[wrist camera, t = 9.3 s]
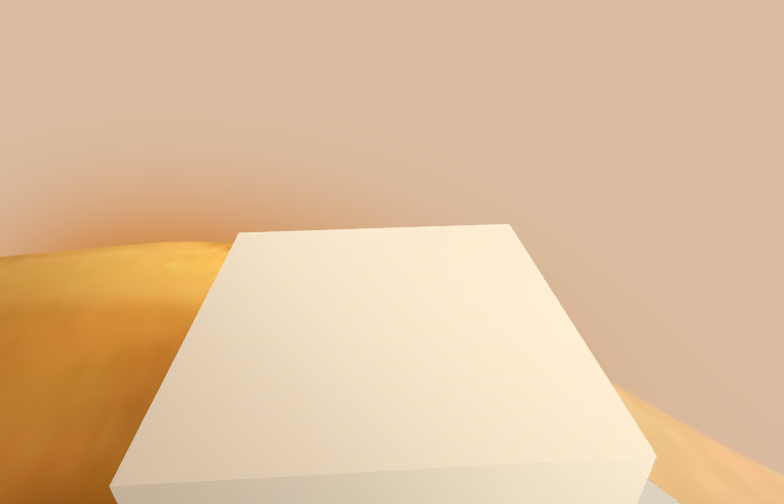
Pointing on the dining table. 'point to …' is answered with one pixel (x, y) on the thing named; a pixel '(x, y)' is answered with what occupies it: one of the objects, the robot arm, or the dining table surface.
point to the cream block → (384, 381)
